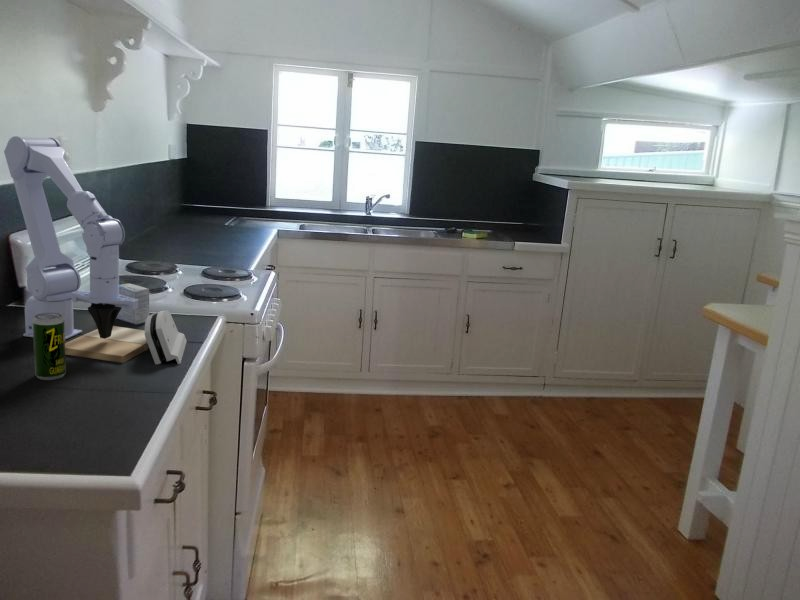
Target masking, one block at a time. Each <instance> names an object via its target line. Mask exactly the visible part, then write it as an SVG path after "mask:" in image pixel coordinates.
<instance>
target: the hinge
mask: <svg viewBox="0 0 800 600" xmlns="http://www.w3.org/2000/svg"><path fill="white" fill-rule="evenodd" d="M144 330H145V337H146V340H147V343H148V346H149V348H150V349H149V351H150V353H151V356H152V359H153V361H154V365H160V364H162V362H164V361H166V362H169V361H172V360H175V361H176V363H177V365H181V363H182V361H183V360H182V358H183V356H184V352H185V348H186V346H187V342H188V341H187V338H186V336H185V334H184V333H182V332H180V331H178V328H177V326H176V323H175V321H174V319H173V317H172V314H171V312H170V310H167V309H166V310H160V311H158V312H153V313H152V314H150V316H148V317H147V319H146V322H145V323H144Z"/></svg>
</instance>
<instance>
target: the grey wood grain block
mask: <svg viewBox="0 0 800 600" xmlns="http://www.w3.org/2000/svg"><path fill="white" fill-rule="evenodd" d="M119 295H122V296H125V297H129V298H133V299H138V308H137V309H135V310H130V309H129V308H122V309H121V310H120V312H119V314H118V315H117V317H116V320H120V321H123V322H126V323H129V324H133V325H140V324H145V322H146V319H147V317H148V316H150V315H151V314H150V289H149V288H146V287H144V286H141V285H137V284H133V283H122V284H119Z"/></svg>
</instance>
